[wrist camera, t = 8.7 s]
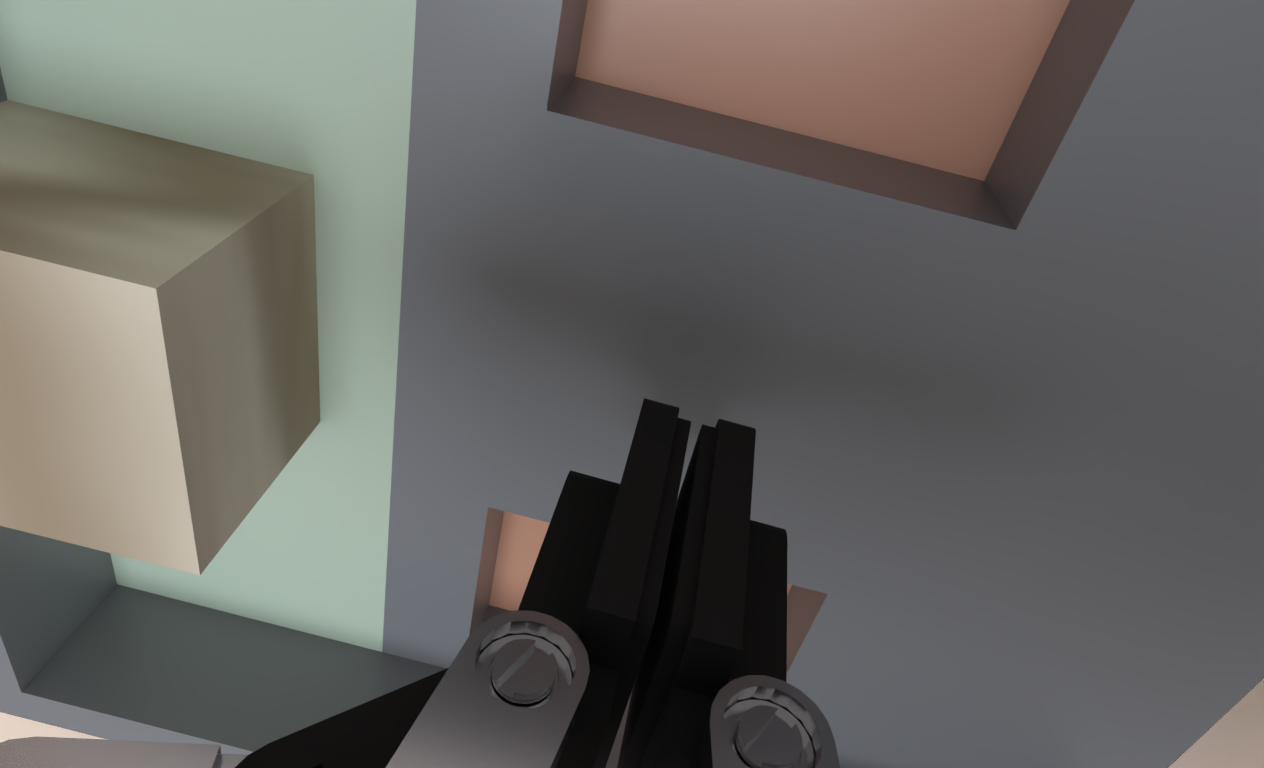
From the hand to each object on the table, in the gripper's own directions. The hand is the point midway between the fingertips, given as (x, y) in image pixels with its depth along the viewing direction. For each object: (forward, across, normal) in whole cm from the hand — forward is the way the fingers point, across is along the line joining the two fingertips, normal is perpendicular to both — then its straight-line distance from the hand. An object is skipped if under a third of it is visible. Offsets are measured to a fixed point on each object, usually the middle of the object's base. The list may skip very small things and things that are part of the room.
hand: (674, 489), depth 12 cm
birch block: (+2, +9, 0) cm, 9 cm away
